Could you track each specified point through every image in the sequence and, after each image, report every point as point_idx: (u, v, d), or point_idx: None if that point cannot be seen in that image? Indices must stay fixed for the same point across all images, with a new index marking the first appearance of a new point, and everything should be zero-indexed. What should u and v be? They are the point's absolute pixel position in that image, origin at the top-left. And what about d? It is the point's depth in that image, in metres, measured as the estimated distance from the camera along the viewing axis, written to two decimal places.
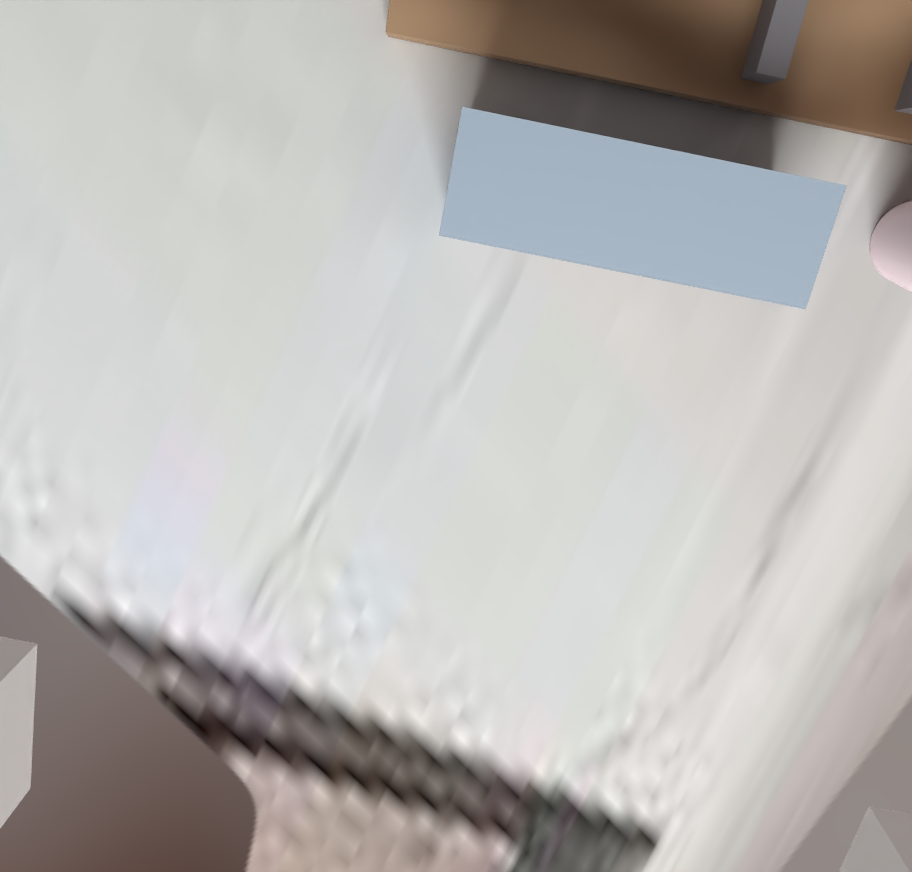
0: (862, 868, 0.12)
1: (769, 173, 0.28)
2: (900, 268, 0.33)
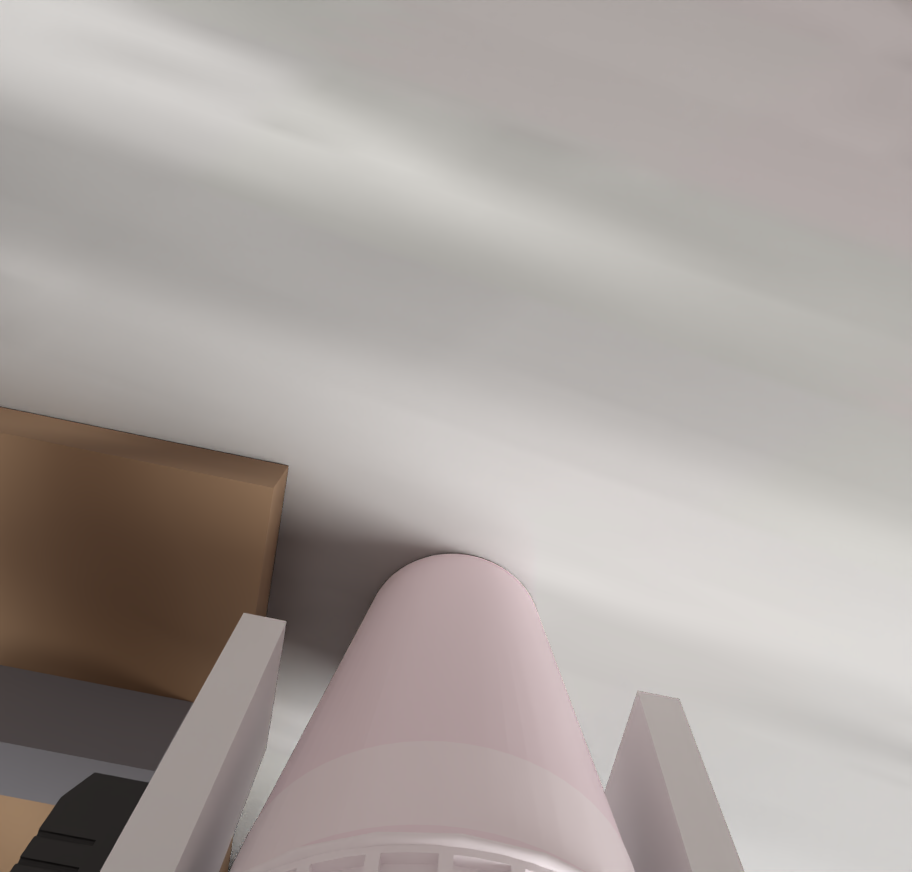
0: (629, 744, 0.14)
1: None
2: None
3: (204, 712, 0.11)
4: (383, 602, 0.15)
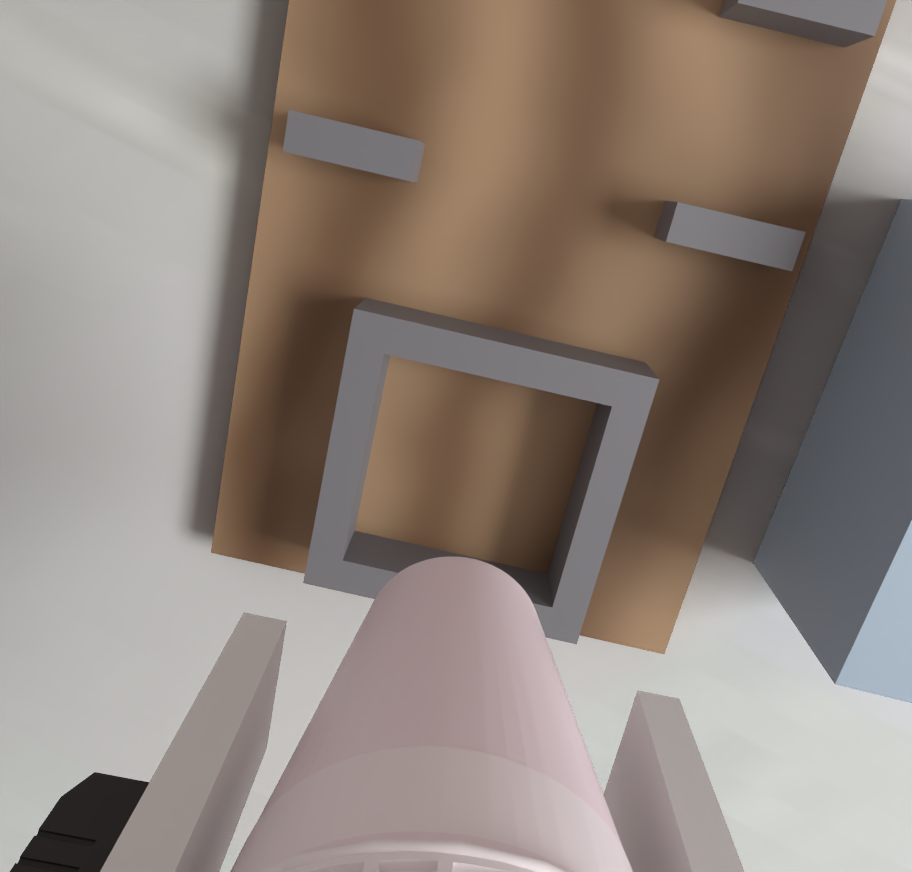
0: (629, 744, 0.14)
1: None
2: None
3: (204, 712, 0.11)
4: (382, 605, 0.15)
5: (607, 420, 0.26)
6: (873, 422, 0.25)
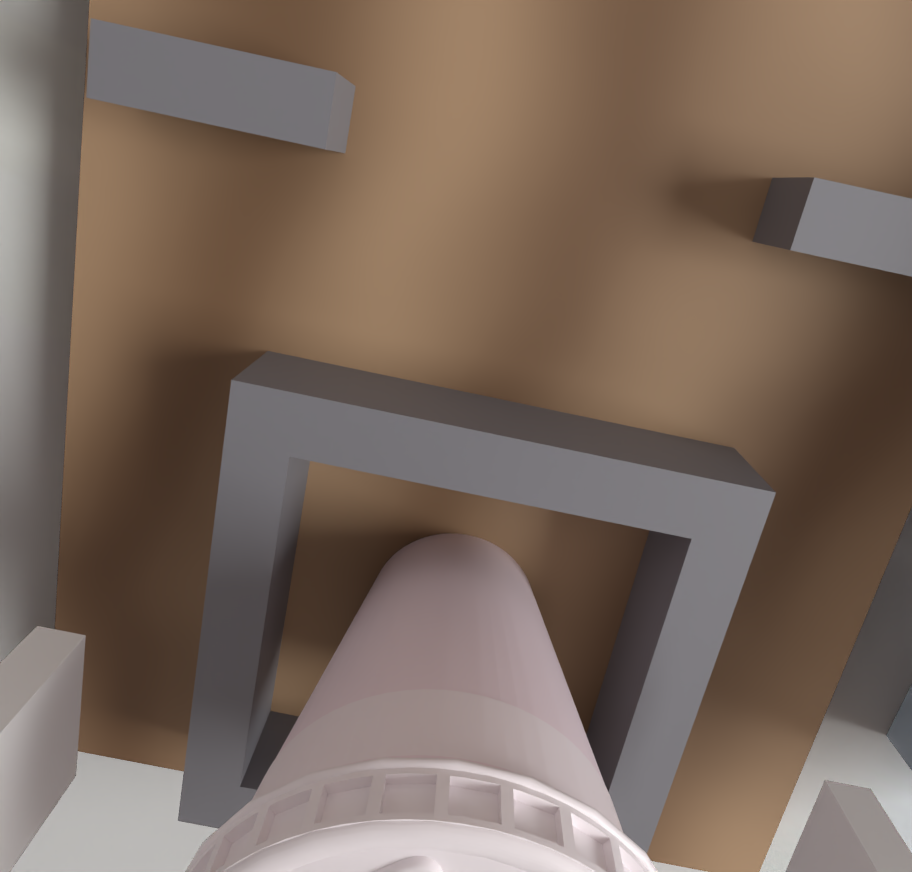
0: (818, 840, 0.12)
1: None
2: None
3: None
4: (386, 577, 0.16)
5: (682, 561, 0.15)
6: None
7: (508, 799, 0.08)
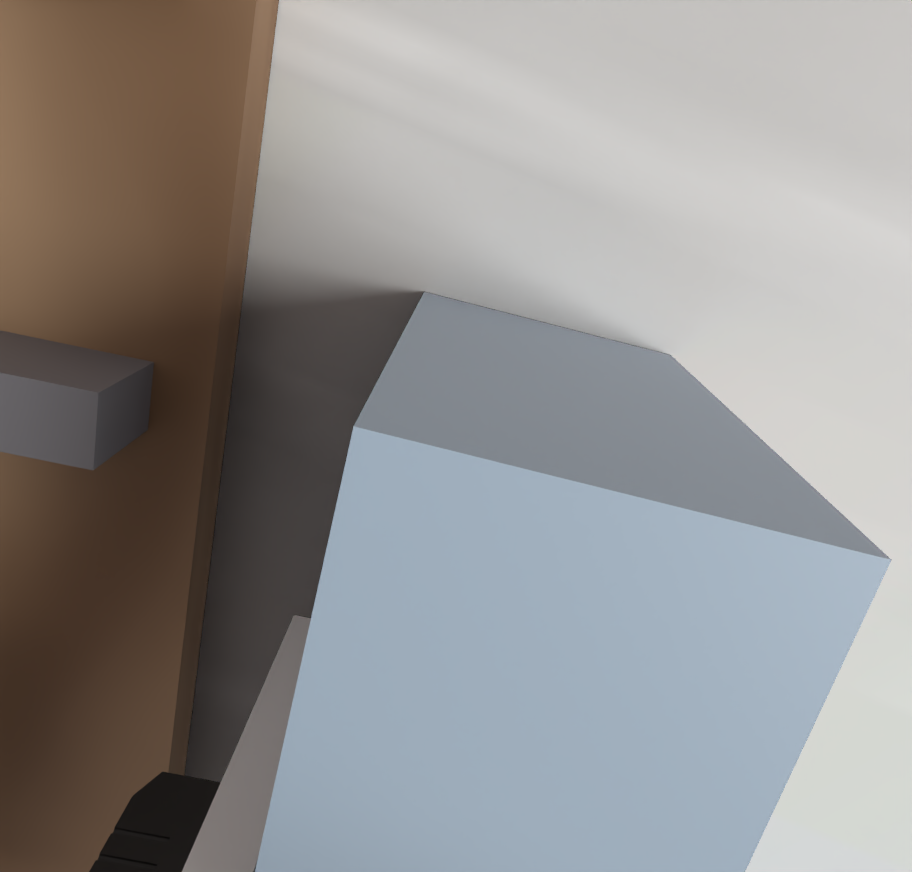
0: None
1: (303, 716, 0.07)
2: None
3: (266, 713, 0.11)
4: None
5: None
6: None
7: None
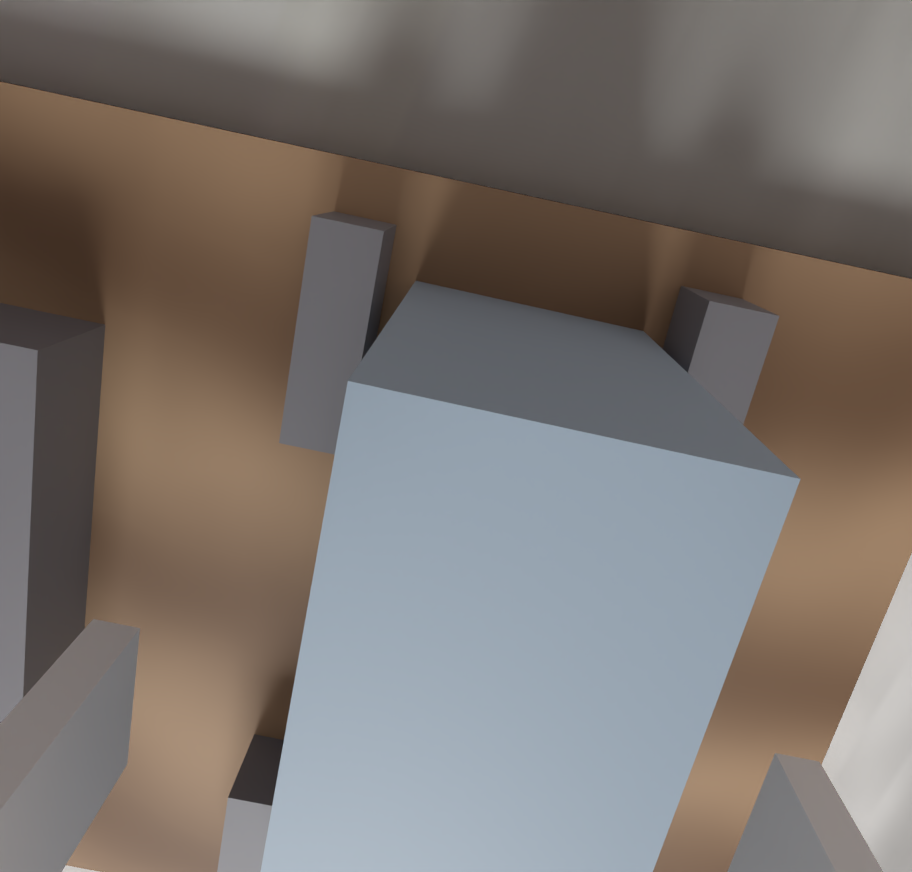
0: (768, 811, 0.13)
1: (314, 631, 0.08)
2: None
3: (12, 730, 0.10)
4: None
5: None
6: None
7: None
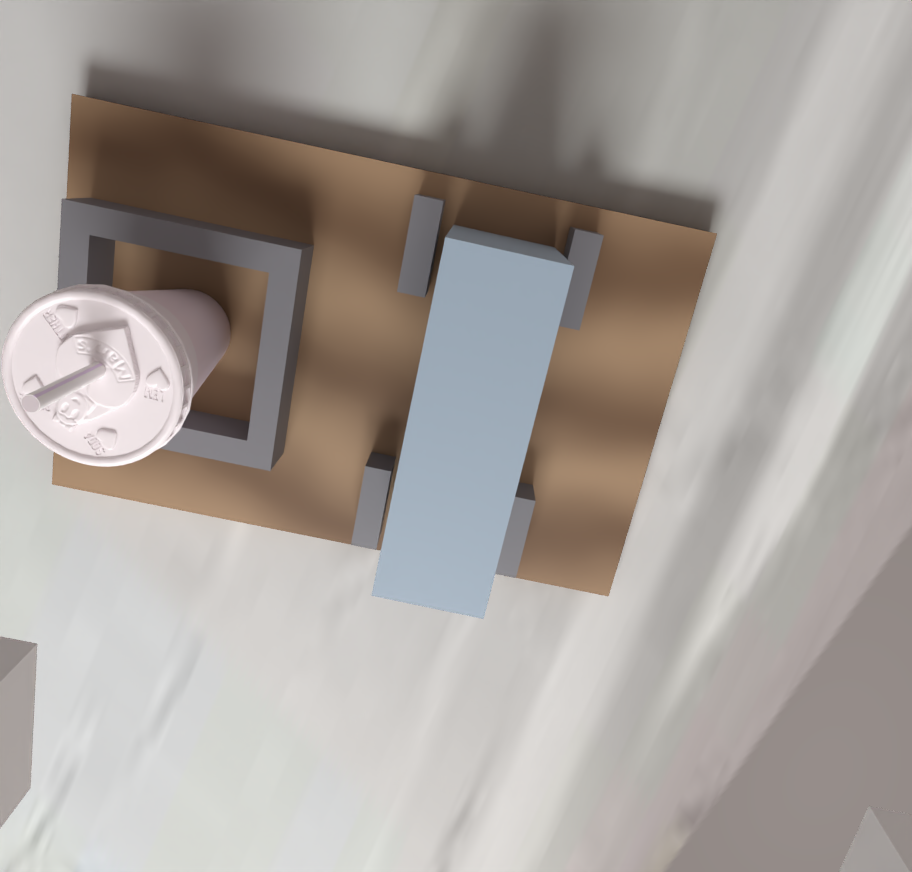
0: (862, 868, 0.12)
1: (432, 318, 0.28)
2: None
3: None
4: (211, 308, 0.34)
5: (236, 438, 0.35)
6: None
7: (185, 405, 0.28)
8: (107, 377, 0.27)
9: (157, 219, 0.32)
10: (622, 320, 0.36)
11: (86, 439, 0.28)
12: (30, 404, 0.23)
